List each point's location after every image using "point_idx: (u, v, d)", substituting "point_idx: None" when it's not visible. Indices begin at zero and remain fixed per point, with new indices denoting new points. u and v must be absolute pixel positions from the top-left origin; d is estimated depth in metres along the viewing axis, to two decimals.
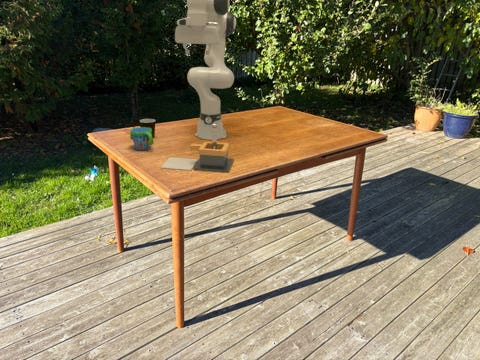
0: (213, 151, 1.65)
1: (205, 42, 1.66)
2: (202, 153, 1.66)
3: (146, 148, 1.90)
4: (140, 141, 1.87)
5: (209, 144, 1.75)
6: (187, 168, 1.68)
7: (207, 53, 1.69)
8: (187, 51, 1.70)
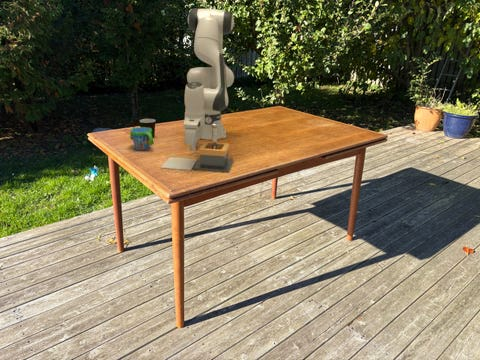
0: (213, 151, 1.65)
1: (200, 135, 1.74)
2: (202, 153, 1.66)
3: (146, 148, 1.90)
4: (140, 141, 1.87)
5: (209, 144, 1.75)
6: (187, 168, 1.68)
7: None
8: None
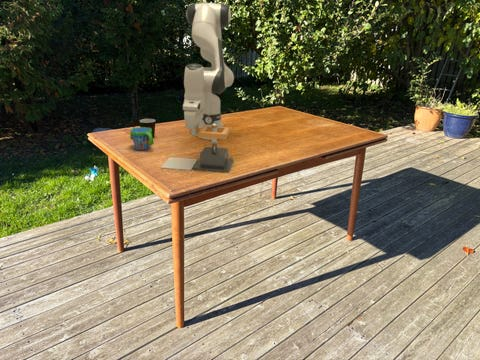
0: (213, 134, 1.62)
1: (200, 119, 1.71)
2: (202, 136, 1.63)
3: (146, 148, 1.90)
4: (140, 141, 1.87)
5: (209, 128, 1.72)
6: (187, 168, 1.68)
7: None
8: (195, 131, 1.67)
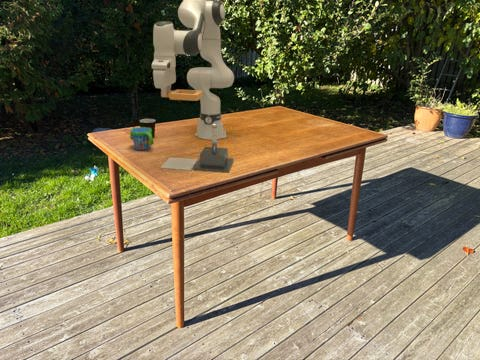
0: (184, 95, 1.55)
1: (172, 82, 1.64)
2: (173, 98, 1.56)
3: (146, 148, 1.90)
4: (140, 141, 1.87)
5: (182, 91, 1.65)
6: (187, 168, 1.68)
7: None
8: (166, 94, 1.60)
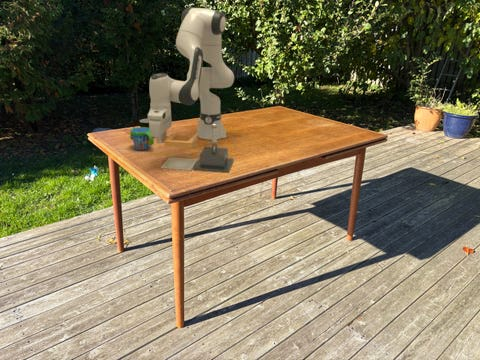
0: (179, 143, 1.64)
1: (168, 127, 1.72)
2: (168, 145, 1.65)
3: (146, 148, 1.90)
4: (140, 141, 1.87)
5: (177, 136, 1.73)
6: (187, 168, 1.68)
7: None
8: (162, 140, 1.68)
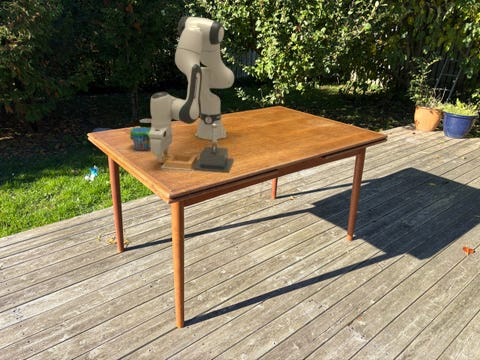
0: (179, 164, 1.68)
1: (168, 144, 1.75)
2: (169, 166, 1.69)
3: (146, 148, 1.90)
4: (140, 141, 1.87)
5: (177, 156, 1.77)
6: None
7: (167, 154, 1.77)
8: (162, 158, 1.70)
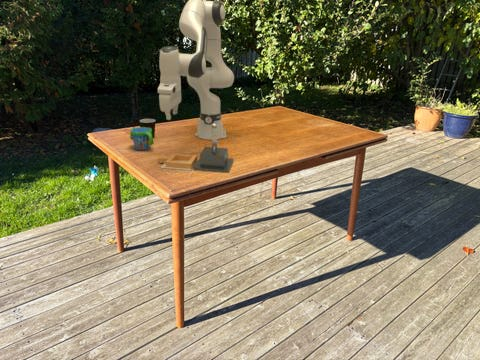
0: (179, 164, 1.68)
1: (178, 103, 1.71)
2: (169, 166, 1.69)
3: (146, 148, 1.90)
4: (140, 141, 1.87)
5: (177, 156, 1.77)
6: None
7: (176, 112, 1.73)
8: (170, 116, 1.65)
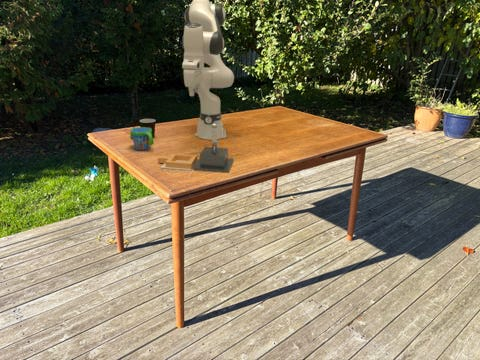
0: (179, 164, 1.68)
1: (200, 81, 1.72)
2: (169, 166, 1.69)
3: (146, 148, 1.90)
4: (140, 141, 1.87)
5: (177, 156, 1.77)
6: None
7: (198, 91, 1.75)
8: (193, 93, 1.66)
